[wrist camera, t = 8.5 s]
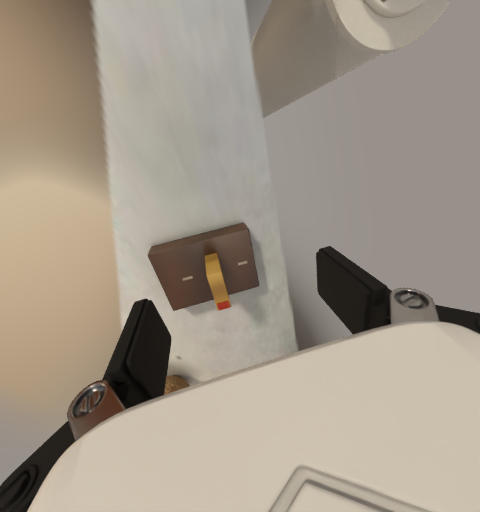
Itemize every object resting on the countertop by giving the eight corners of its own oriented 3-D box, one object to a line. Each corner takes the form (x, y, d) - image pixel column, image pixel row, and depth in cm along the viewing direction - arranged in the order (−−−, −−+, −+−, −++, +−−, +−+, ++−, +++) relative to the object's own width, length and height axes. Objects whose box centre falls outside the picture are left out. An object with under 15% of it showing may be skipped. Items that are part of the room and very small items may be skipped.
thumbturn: (204, 255, 29) (206, 276, 24) (216, 252, 29) (221, 272, 24) (214, 287, 32) (218, 312, 26) (225, 283, 32) (231, 308, 27)
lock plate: (243, 222, 31) (248, 228, 28) (254, 276, 36) (259, 286, 33) (151, 246, 30) (147, 255, 27) (174, 299, 35) (173, 311, 32)
